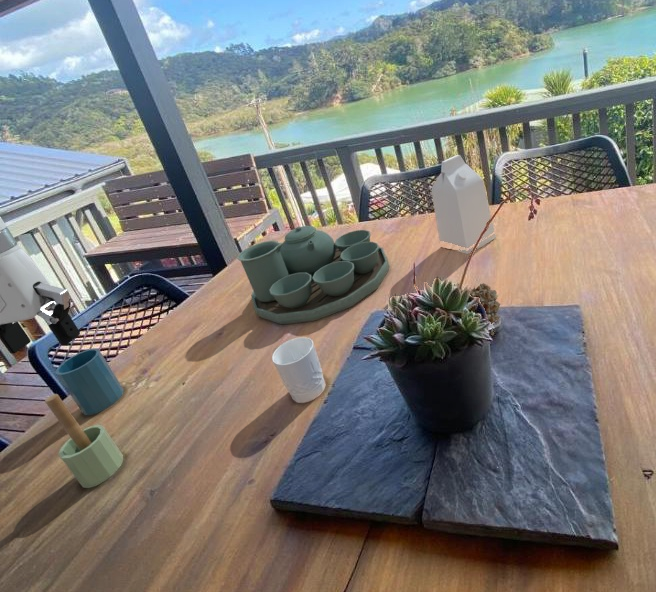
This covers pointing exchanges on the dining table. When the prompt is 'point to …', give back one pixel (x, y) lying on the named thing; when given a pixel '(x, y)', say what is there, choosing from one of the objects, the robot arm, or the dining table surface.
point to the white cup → (299, 369)
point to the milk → (461, 205)
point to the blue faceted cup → (90, 381)
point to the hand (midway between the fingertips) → (46, 343)
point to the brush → (68, 421)
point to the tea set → (312, 274)
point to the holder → (92, 457)
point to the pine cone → (487, 301)
